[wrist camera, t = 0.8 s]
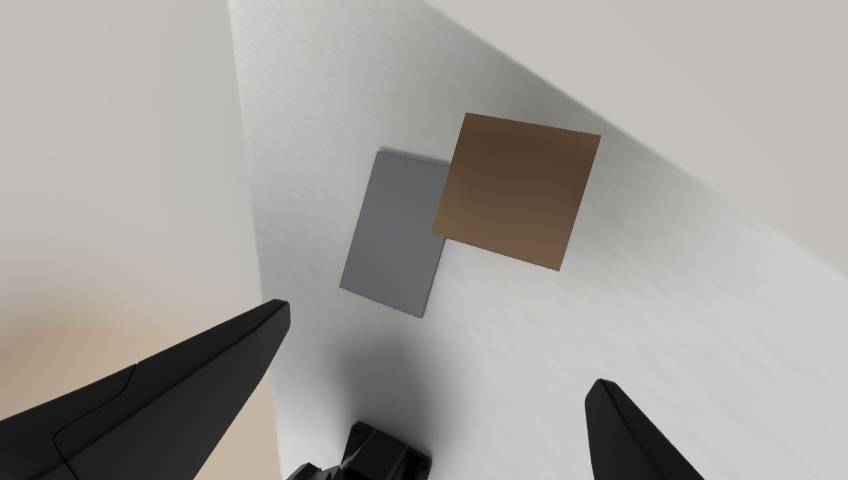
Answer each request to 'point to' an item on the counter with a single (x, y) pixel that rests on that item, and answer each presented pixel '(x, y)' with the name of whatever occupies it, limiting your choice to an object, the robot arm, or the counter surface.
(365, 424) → the robot arm
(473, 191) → the walnut block
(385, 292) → the rubber mat
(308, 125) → the counter surface
